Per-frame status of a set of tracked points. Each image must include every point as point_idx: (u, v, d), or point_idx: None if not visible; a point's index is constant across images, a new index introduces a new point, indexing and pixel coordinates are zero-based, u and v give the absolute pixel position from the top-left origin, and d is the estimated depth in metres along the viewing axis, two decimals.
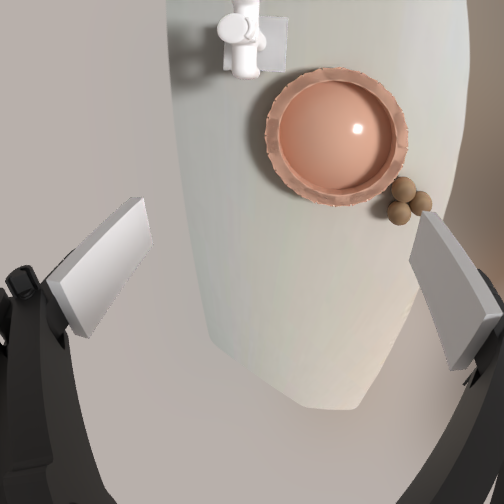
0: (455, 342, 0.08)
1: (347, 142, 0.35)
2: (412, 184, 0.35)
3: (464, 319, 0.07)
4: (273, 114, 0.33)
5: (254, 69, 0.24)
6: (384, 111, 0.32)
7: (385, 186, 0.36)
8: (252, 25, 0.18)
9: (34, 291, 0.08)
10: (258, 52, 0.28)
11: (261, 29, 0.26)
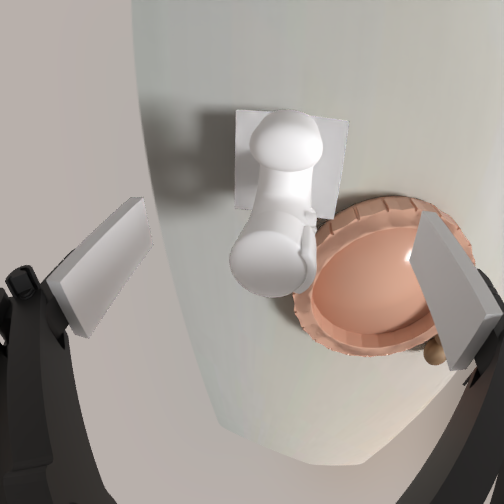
0: (455, 342, 0.08)
1: (397, 290, 0.27)
2: None
3: (464, 319, 0.07)
4: None
5: None
6: None
7: (430, 336, 0.27)
8: (314, 269, 0.10)
9: (34, 291, 0.08)
10: None
11: None
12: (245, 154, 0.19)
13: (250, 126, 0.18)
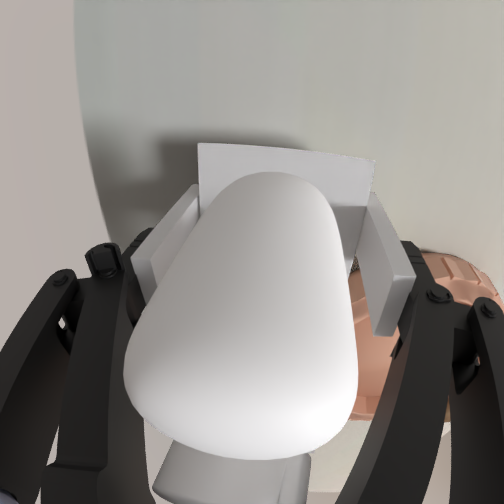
0: (376, 307, 0.09)
1: None
2: None
3: (381, 284, 0.09)
4: None
5: None
6: None
7: None
8: None
9: (116, 271, 0.09)
10: None
11: None
12: None
13: (220, 168, 0.12)
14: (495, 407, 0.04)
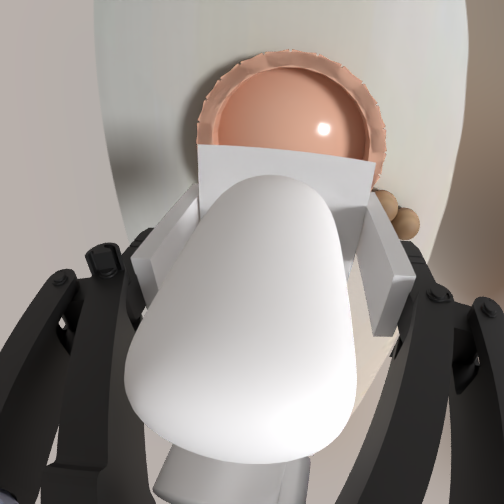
0: (376, 307, 0.09)
1: (306, 148, 0.28)
2: (393, 200, 0.28)
3: (381, 284, 0.09)
4: (205, 117, 0.26)
5: None
6: (354, 105, 0.25)
7: None
8: None
9: (116, 271, 0.09)
10: None
11: None
12: None
13: (220, 170, 0.12)
14: (495, 407, 0.04)
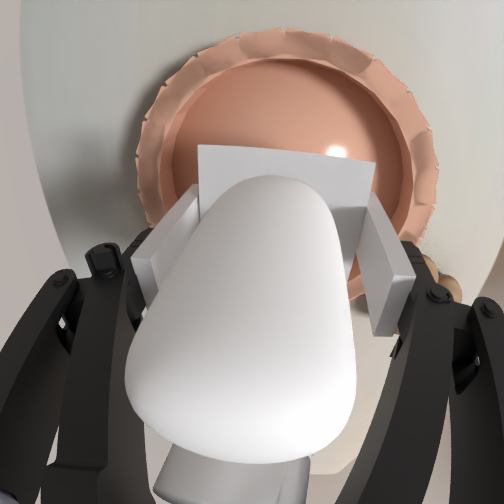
0: (376, 307, 0.09)
1: None
2: (433, 272, 0.18)
3: (381, 284, 0.09)
4: (146, 149, 0.16)
5: None
6: (388, 124, 0.15)
7: None
8: None
9: (116, 271, 0.09)
10: None
11: None
12: None
13: (220, 170, 0.12)
14: (495, 407, 0.04)
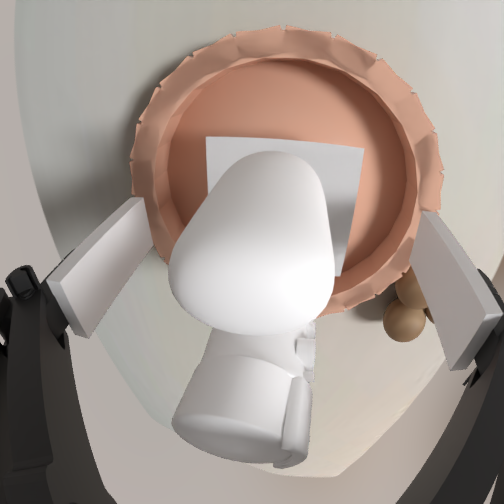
0: (455, 342, 0.08)
1: None
2: None
3: (464, 319, 0.07)
4: (140, 153, 0.15)
5: None
6: (392, 127, 0.14)
7: (383, 286, 0.18)
8: None
9: (34, 291, 0.08)
10: None
11: None
12: None
13: (226, 159, 0.13)
14: None
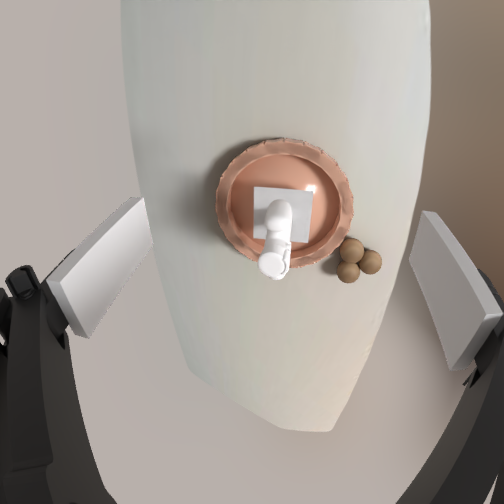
0: (455, 342, 0.08)
1: None
2: (359, 247, 0.39)
3: (464, 319, 0.07)
4: (221, 189, 0.38)
5: None
6: (331, 177, 0.37)
7: (331, 250, 0.40)
8: (288, 265, 0.27)
9: (34, 291, 0.08)
10: None
11: (288, 203, 0.36)
12: (259, 210, 0.37)
13: (261, 195, 0.36)
14: None
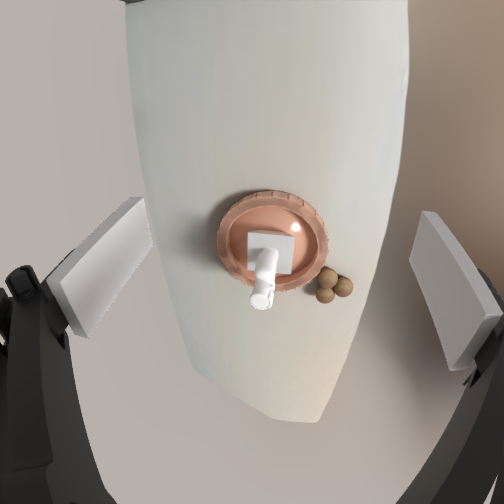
0: (455, 342, 0.08)
1: None
2: (333, 276, 0.50)
3: (464, 319, 0.07)
4: (221, 231, 0.48)
5: None
6: None
7: (310, 278, 0.51)
8: (271, 302, 0.38)
9: (34, 291, 0.08)
10: None
11: (274, 245, 0.46)
12: (251, 249, 0.47)
13: (253, 239, 0.46)
14: None
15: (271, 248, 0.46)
